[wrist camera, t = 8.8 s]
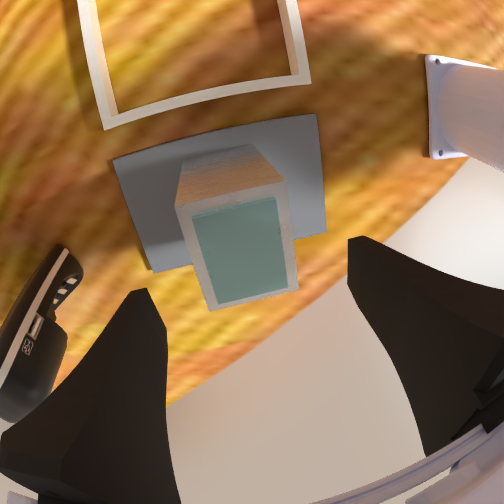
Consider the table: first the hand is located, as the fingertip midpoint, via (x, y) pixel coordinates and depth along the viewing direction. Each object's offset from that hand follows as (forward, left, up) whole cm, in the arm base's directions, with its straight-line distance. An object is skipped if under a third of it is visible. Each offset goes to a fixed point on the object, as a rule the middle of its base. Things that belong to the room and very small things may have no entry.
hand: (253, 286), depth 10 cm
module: (0, 0, -9) cm, 9 cm away
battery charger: (+14, +3, -10) cm, 17 cm away
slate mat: (0, 0, -9) cm, 9 cm away
